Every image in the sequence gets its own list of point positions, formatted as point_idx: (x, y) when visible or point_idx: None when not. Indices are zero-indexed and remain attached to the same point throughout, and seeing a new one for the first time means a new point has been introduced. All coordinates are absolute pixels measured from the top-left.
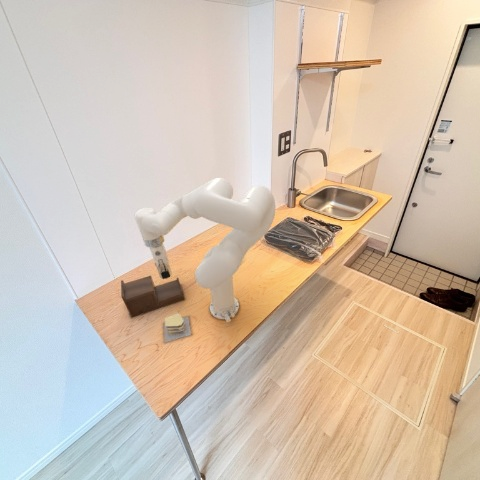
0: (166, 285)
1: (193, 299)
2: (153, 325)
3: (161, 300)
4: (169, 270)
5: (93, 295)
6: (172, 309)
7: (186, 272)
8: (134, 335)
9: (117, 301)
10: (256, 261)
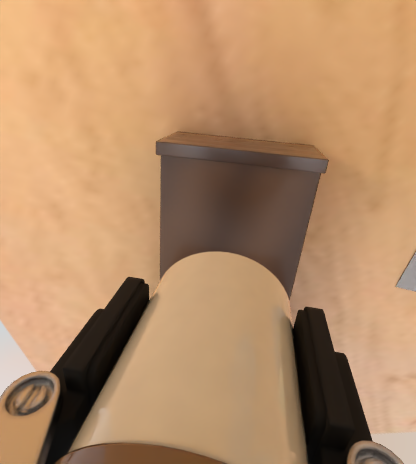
0: (184, 229)
1: (354, 89)
2: (368, 323)
3: (292, 286)
4: (278, 338)
5: None
6: (338, 228)
7: (75, 50)
8: (360, 383)
9: None
10: None
